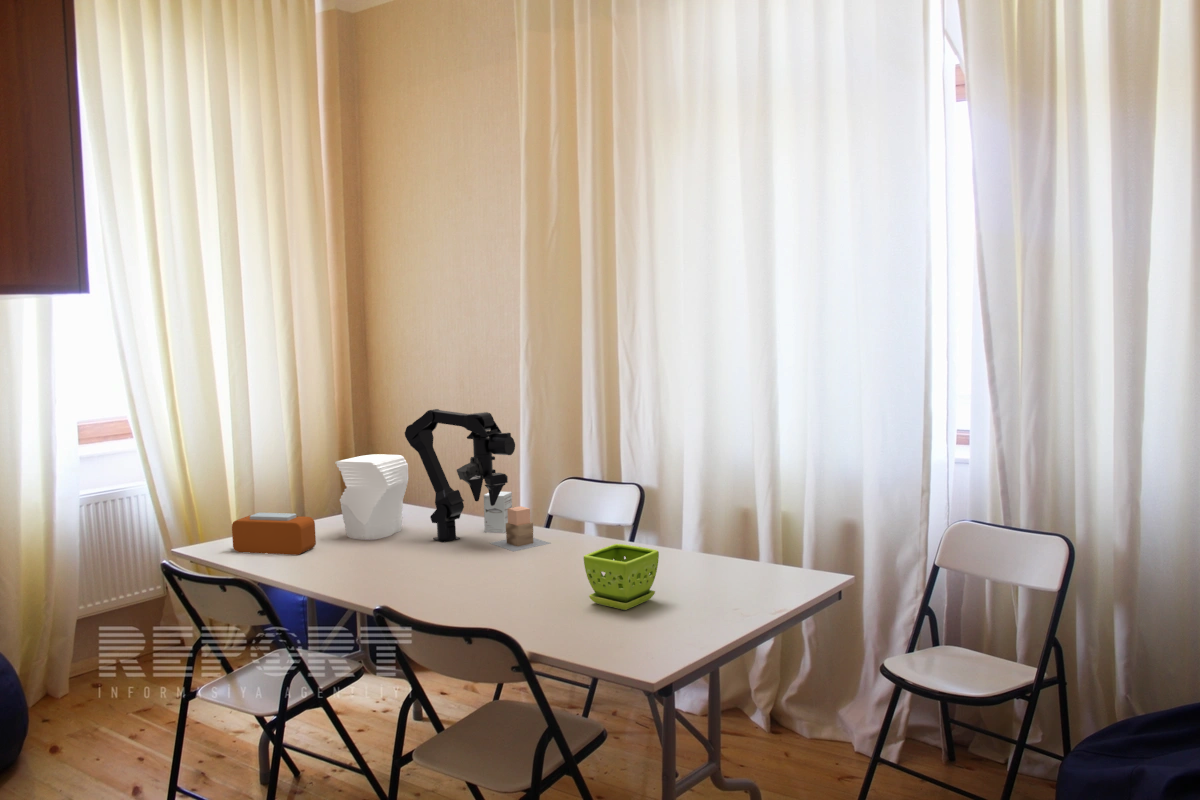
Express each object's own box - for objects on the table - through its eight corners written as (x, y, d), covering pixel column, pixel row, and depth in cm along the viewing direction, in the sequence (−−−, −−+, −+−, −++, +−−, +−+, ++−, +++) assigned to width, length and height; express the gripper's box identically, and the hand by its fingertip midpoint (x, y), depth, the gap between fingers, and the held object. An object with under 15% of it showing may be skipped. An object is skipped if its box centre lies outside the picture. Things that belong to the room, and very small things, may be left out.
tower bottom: (506, 543, 289) (506, 532, 289) (522, 539, 293) (522, 529, 293) (517, 546, 285) (516, 536, 284) (533, 543, 289) (533, 533, 288)
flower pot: (617, 590, 239) (616, 542, 238) (662, 600, 230) (661, 550, 229) (582, 604, 228) (581, 554, 227) (627, 615, 219) (626, 562, 218)
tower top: (505, 533, 289) (505, 523, 288) (520, 529, 293) (520, 519, 293) (518, 536, 284) (518, 526, 284) (533, 532, 289) (533, 522, 288)
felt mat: (488, 543, 290) (488, 542, 290) (525, 536, 299) (525, 535, 299) (513, 552, 279) (513, 551, 279) (551, 544, 288) (551, 543, 288)
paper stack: (329, 538, 302) (325, 460, 299) (388, 521, 325) (385, 449, 322) (376, 546, 291) (372, 465, 288) (434, 527, 314) (431, 452, 311)
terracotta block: (507, 522, 289) (507, 508, 288) (521, 520, 292) (520, 506, 291) (516, 525, 285) (516, 511, 284) (530, 522, 288) (529, 508, 288)
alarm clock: (316, 548, 290) (314, 512, 289) (302, 555, 282) (300, 518, 281) (249, 545, 296) (246, 510, 295) (232, 552, 288) (230, 516, 287)
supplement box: (483, 532, 305) (482, 494, 304) (493, 527, 312) (491, 490, 311) (504, 533, 303) (503, 495, 302) (513, 528, 310) (512, 491, 309)
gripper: (444, 453, 289) (446, 502, 290) (476, 460, 274) (478, 512, 276) (475, 449, 296) (477, 497, 297) (507, 455, 281) (509, 506, 283)
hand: (484, 503), depth 288 cm, fingers open, 9 cm apart
